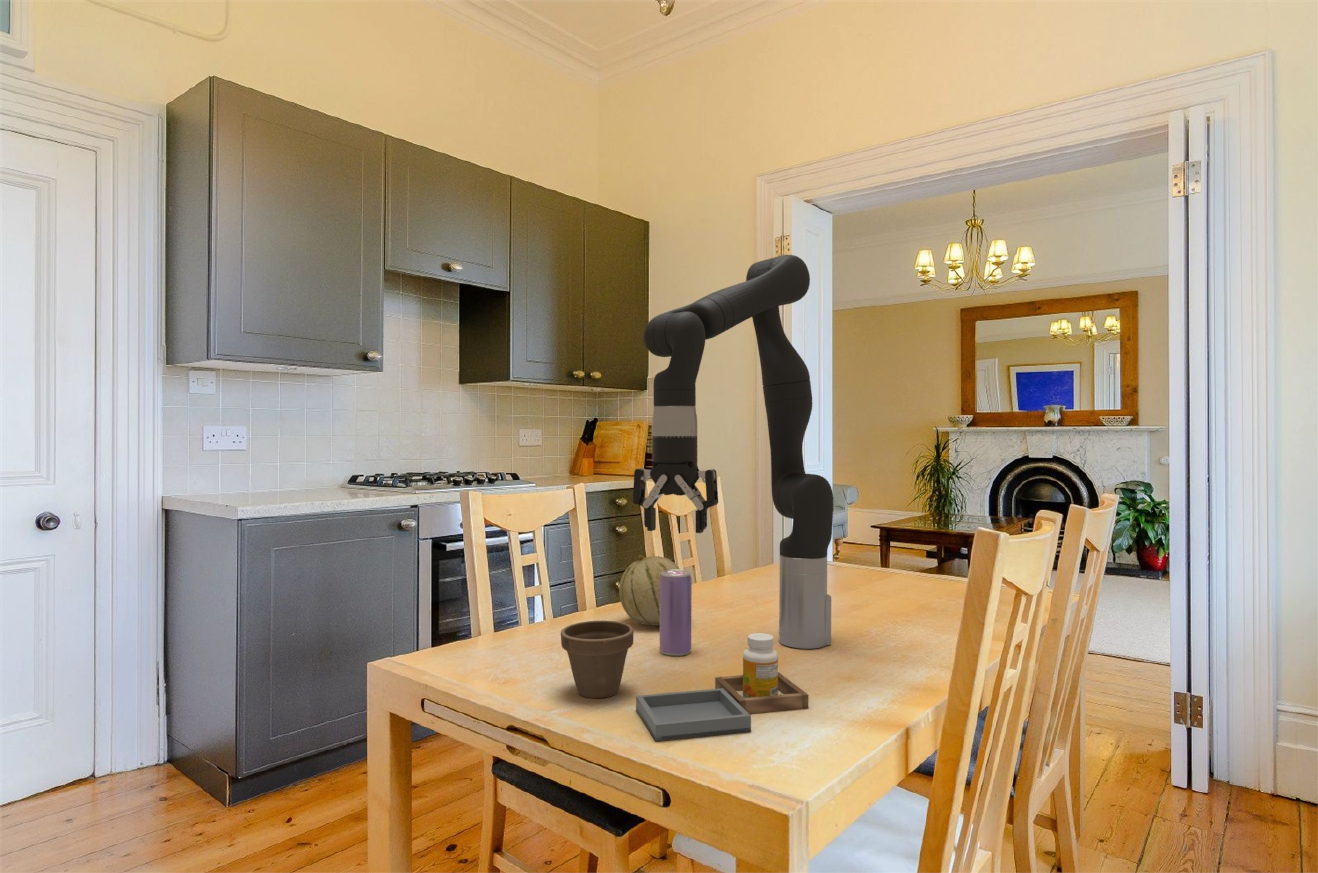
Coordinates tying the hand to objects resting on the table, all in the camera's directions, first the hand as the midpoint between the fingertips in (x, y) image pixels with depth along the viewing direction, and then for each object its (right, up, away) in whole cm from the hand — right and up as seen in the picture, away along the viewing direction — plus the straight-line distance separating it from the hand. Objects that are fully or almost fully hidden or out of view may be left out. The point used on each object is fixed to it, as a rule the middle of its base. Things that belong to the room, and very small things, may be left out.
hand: (675, 531), depth 126 cm
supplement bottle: (+13, -25, -8) cm, 30 cm away
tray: (+2, -25, -18) cm, 30 cm away
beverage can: (0, -25, +16) cm, 30 cm away
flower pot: (-13, -25, -6) cm, 28 cm away
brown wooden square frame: (+13, -25, -8) cm, 29 cm away
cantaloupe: (-4, -25, +37) cm, 44 cm away
